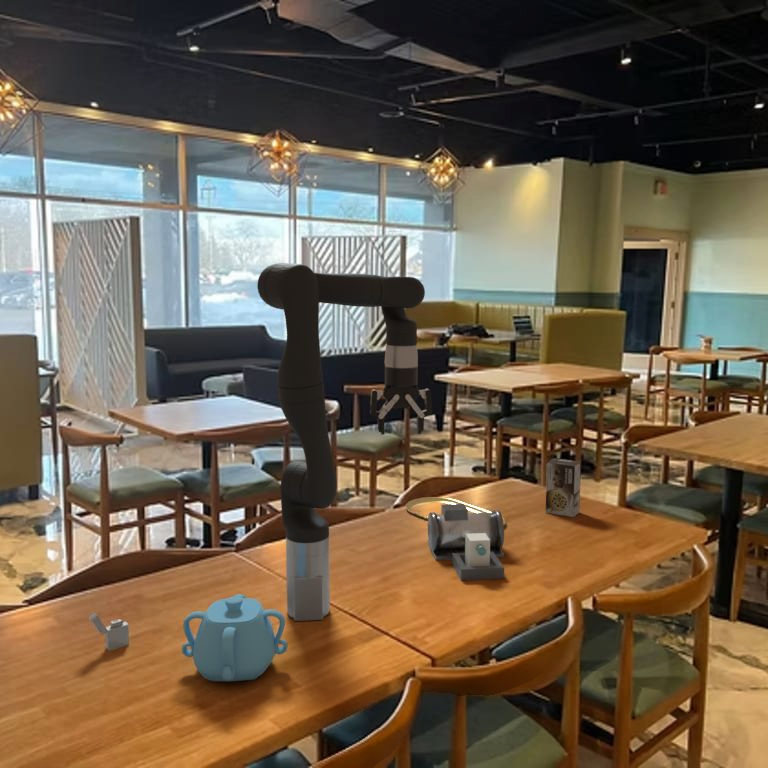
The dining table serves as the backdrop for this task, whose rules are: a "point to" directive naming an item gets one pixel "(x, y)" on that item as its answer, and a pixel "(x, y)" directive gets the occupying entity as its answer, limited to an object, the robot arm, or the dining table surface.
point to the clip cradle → (477, 568)
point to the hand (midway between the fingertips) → (400, 433)
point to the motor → (462, 530)
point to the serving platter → (443, 500)
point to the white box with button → (477, 550)
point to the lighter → (112, 632)
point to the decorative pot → (234, 639)
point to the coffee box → (563, 487)
